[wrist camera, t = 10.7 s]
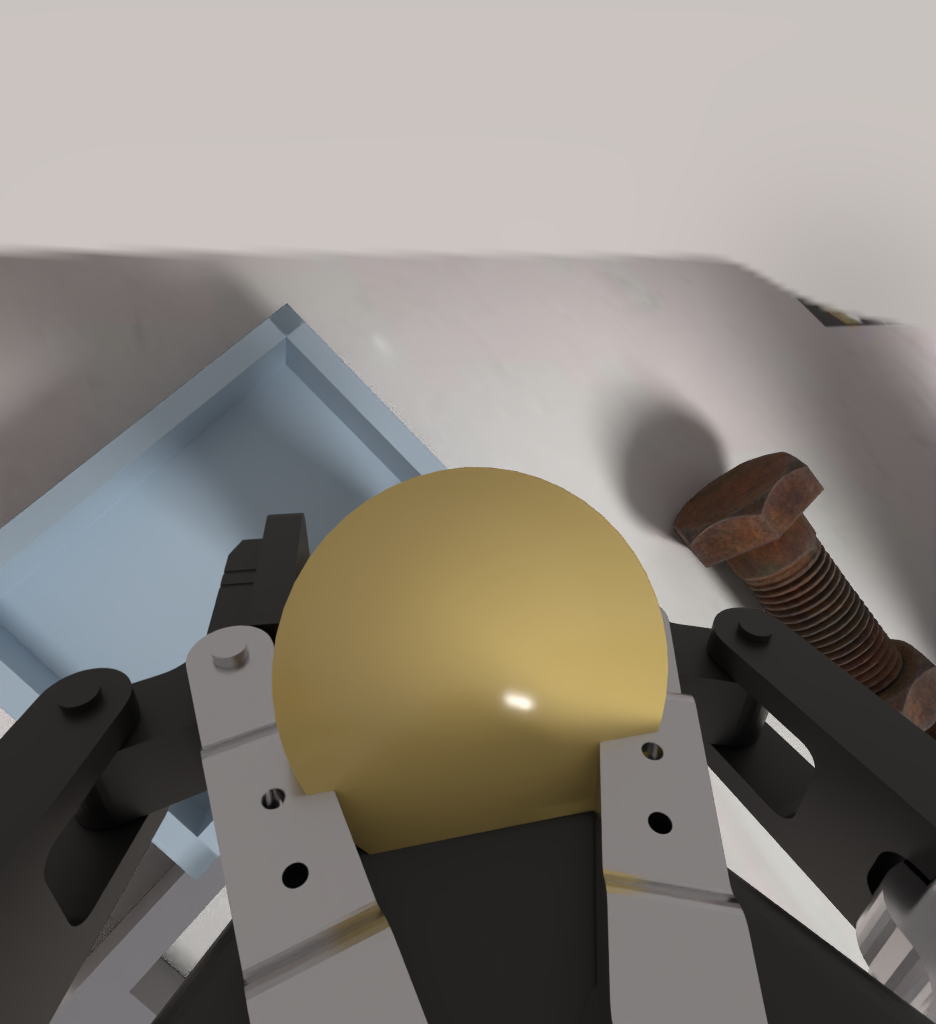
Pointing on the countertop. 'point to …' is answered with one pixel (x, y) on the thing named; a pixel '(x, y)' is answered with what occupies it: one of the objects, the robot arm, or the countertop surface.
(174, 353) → the countertop surface
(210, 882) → the fuse holder
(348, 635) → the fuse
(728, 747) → the robot arm
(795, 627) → the bolt
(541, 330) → the countertop surface
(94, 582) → the parts tray
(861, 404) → the countertop surface
